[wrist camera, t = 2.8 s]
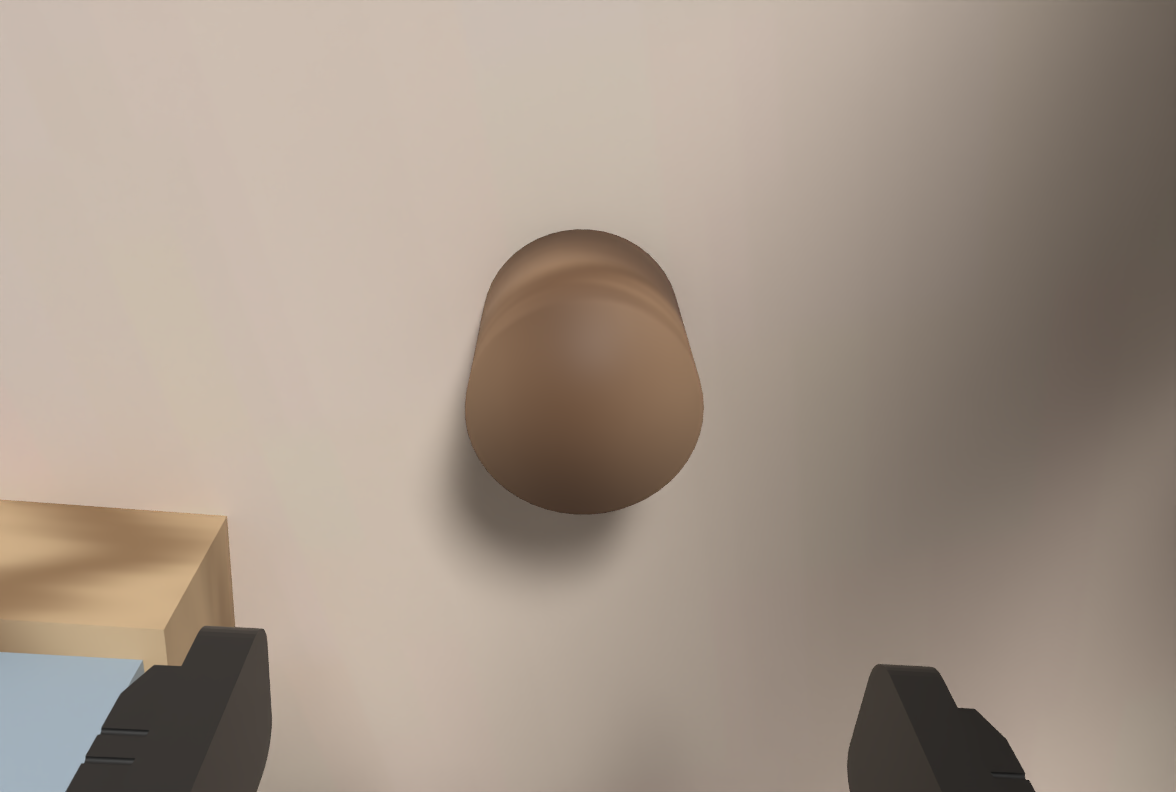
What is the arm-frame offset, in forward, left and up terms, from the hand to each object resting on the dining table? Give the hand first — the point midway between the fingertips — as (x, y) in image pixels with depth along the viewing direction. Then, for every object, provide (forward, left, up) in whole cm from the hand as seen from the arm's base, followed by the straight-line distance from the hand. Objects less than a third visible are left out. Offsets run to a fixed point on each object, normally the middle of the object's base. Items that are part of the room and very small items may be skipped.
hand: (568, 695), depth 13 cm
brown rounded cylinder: (0, 0, -13) cm, 13 cm away
